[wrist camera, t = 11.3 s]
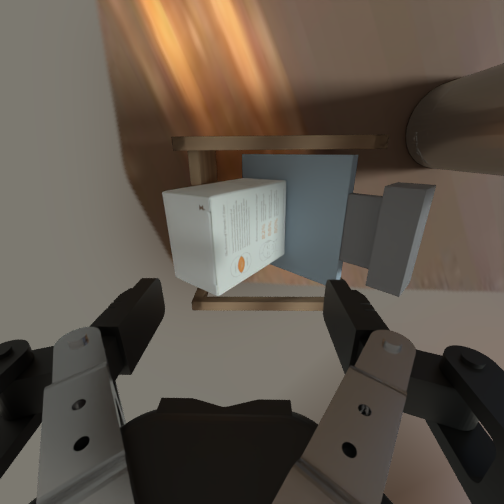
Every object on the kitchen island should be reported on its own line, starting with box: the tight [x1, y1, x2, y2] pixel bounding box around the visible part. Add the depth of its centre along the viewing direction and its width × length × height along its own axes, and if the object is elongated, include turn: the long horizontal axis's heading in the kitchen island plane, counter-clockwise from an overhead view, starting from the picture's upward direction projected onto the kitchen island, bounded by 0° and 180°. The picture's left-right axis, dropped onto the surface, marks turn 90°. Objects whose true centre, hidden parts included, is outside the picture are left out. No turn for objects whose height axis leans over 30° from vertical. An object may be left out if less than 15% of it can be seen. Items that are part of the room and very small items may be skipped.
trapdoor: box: [242, 154, 436, 297], centre depth 24 cm, size 18×12×3 cm
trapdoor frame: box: [172, 135, 389, 311], centre depth 27 cm, size 15×15×14 cm
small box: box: [162, 178, 286, 296], centre depth 23 cm, size 8×6×10 cm
